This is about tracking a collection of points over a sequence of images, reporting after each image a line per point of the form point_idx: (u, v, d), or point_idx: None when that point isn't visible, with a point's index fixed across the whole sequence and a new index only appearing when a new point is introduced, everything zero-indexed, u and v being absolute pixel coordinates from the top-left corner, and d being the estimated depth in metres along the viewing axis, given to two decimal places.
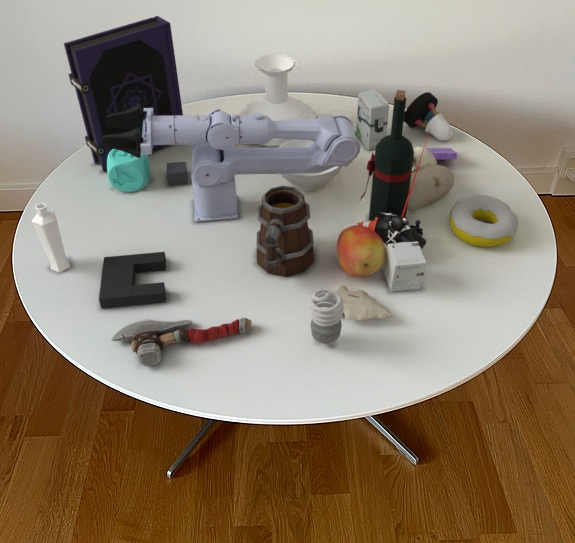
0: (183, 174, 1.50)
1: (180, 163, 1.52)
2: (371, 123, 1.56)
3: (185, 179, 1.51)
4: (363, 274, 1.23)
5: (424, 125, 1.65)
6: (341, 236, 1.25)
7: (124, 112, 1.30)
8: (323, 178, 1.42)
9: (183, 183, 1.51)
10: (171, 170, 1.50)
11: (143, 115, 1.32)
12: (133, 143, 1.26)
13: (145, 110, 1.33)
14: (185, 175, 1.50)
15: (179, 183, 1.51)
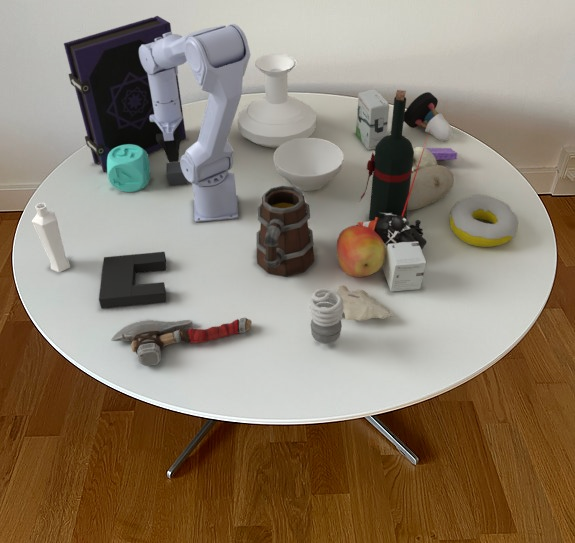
0: (183, 174, 1.50)
1: None
2: (371, 123, 1.56)
3: (185, 179, 1.51)
4: (363, 274, 1.23)
5: (424, 125, 1.65)
6: (341, 236, 1.25)
7: None
8: (323, 178, 1.42)
9: (183, 183, 1.51)
10: (171, 170, 1.50)
11: None
12: None
13: None
14: None
15: (179, 183, 1.51)
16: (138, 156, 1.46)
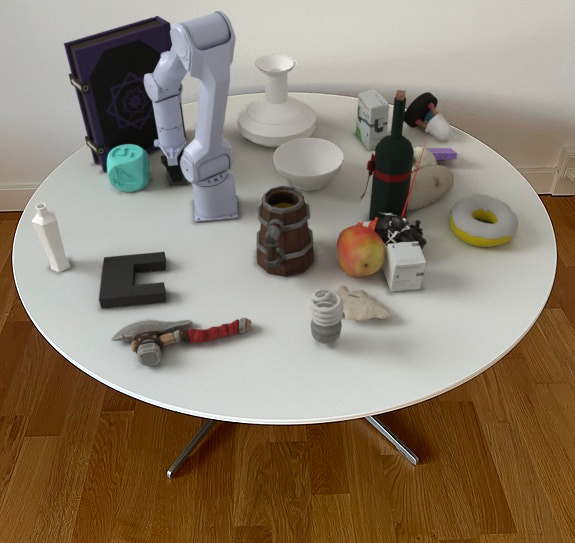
0: (183, 174, 1.50)
1: None
2: (371, 123, 1.56)
3: (185, 179, 1.51)
4: (363, 274, 1.23)
5: (424, 125, 1.65)
6: (341, 236, 1.25)
7: None
8: (323, 178, 1.42)
9: (183, 183, 1.51)
10: None
11: None
12: None
13: None
14: None
15: (179, 183, 1.51)
16: (138, 156, 1.46)
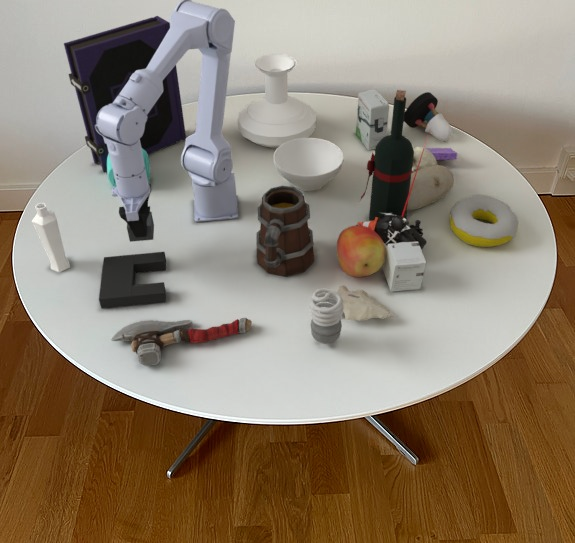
0: (147, 228, 1.24)
1: None
2: (371, 123, 1.56)
3: (150, 234, 1.25)
4: (363, 274, 1.23)
5: (424, 125, 1.65)
6: (341, 236, 1.25)
7: None
8: (323, 178, 1.42)
9: (147, 238, 1.26)
10: None
11: None
12: None
13: None
14: (150, 229, 1.24)
15: (143, 238, 1.25)
16: None
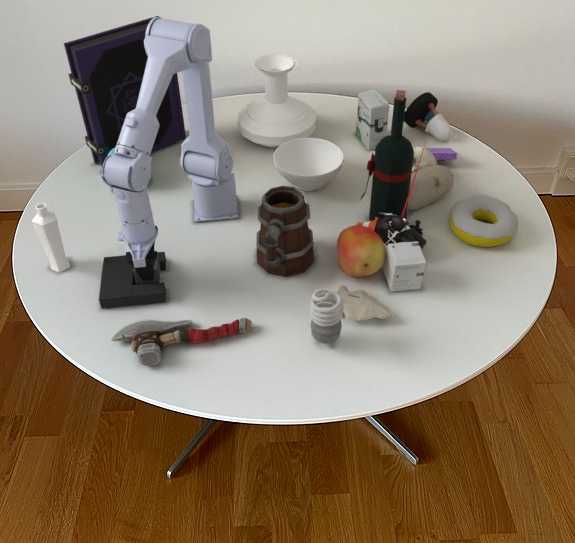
0: (154, 271, 1.23)
1: None
2: (371, 123, 1.56)
3: (156, 277, 1.24)
4: (363, 274, 1.23)
5: (424, 125, 1.65)
6: (341, 236, 1.25)
7: None
8: (323, 178, 1.42)
9: (154, 281, 1.24)
10: None
11: None
12: None
13: None
14: (156, 273, 1.23)
15: (149, 281, 1.24)
16: None
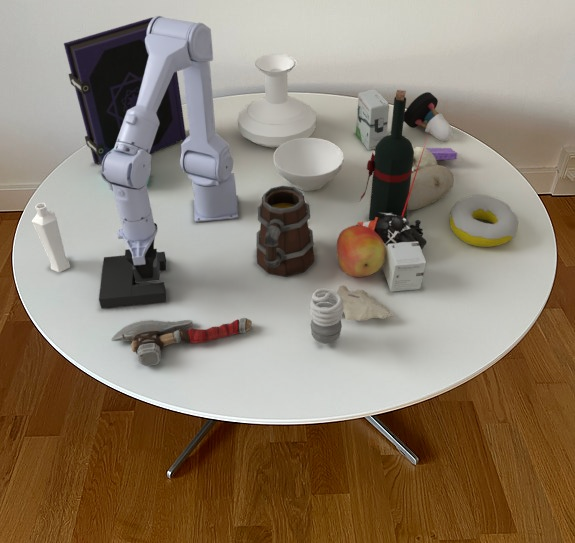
0: (153, 269, 1.22)
1: None
2: (371, 123, 1.56)
3: (156, 275, 1.23)
4: (363, 274, 1.23)
5: (424, 125, 1.65)
6: (341, 236, 1.25)
7: None
8: (323, 178, 1.42)
9: (154, 279, 1.24)
10: None
11: None
12: None
13: None
14: (156, 270, 1.23)
15: (149, 279, 1.24)
16: None
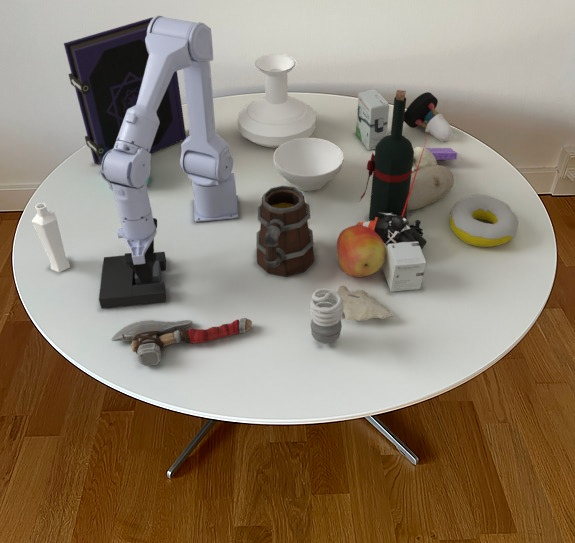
0: (155, 278, 1.24)
1: None
2: (371, 123, 1.56)
3: None
4: (363, 274, 1.23)
5: (424, 125, 1.65)
6: (341, 236, 1.25)
7: None
8: (323, 178, 1.42)
9: None
10: None
11: None
12: None
13: None
14: (157, 279, 1.24)
15: None
16: None
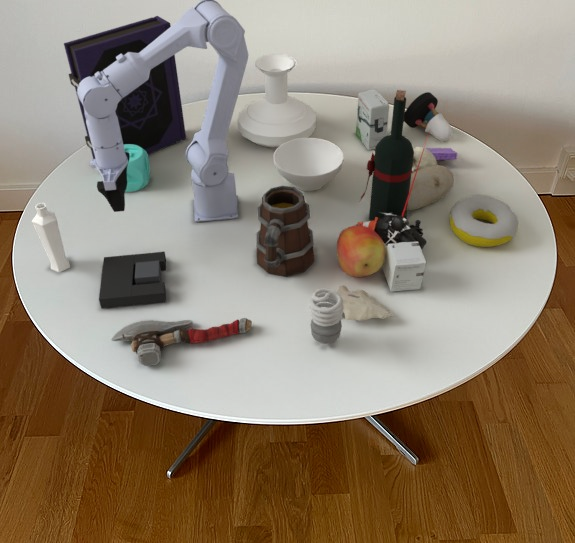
0: (155, 278, 1.24)
1: (152, 263, 1.26)
2: (371, 123, 1.56)
3: None
4: (363, 274, 1.23)
5: (424, 125, 1.65)
6: (341, 236, 1.25)
7: None
8: (323, 178, 1.42)
9: None
10: (141, 274, 1.24)
11: None
12: None
13: None
14: (157, 279, 1.24)
15: None
16: (138, 156, 1.46)
